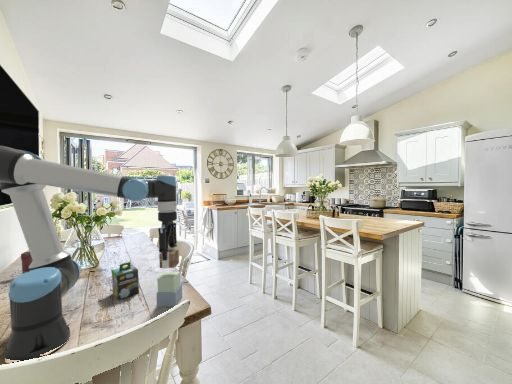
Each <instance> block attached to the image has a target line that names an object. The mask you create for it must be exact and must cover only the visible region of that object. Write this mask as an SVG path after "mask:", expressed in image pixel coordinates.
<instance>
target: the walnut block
mask: <svg viewBox="0 0 512 384" xmlns="http://www.w3.org/2000/svg"><path fill="white" fill-rule="evenodd" d="M168 252H169V268H168V269H172V268H173V269H174V268H175V267H176V266H178V264H179V263H180V254H179V248H177V249H176V248H175V250H168ZM158 256H159V257H158V258H159V259H158V260H159V268H160V269H163V268H162V253H159V254H158Z"/></svg>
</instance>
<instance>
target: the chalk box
mask: <svg viewBox="0 0 512 384" xmlns="http://www.w3.org/2000/svg"><path fill="white" fill-rule="evenodd" d="M139 280H140V279H139V269H138V268H137V267H135V266H134V265H133V264H131V261H129V262H123V263H120V264H119V268H115V269H112V270H111V283H112V295H114V297H115V298H116V299H117V300H118V301H119V300H121V299H125V298H128V297H131V296H134V295H137V294H140V293H139V292H140V286H139V285H140V284H139V282H140V281H139Z"/></svg>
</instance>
